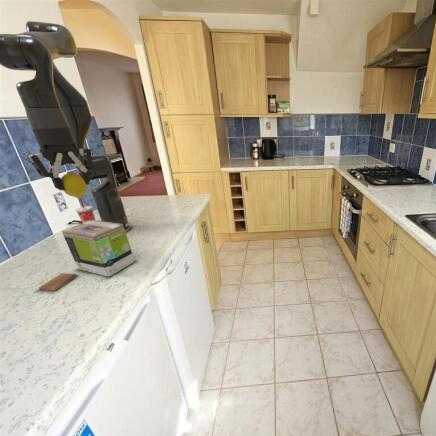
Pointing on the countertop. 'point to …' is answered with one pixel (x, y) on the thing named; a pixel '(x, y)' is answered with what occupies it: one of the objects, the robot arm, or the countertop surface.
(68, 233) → the tea box
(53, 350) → the countertop surface
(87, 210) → the beverage cup
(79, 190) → the lemon
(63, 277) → the tea sachet
